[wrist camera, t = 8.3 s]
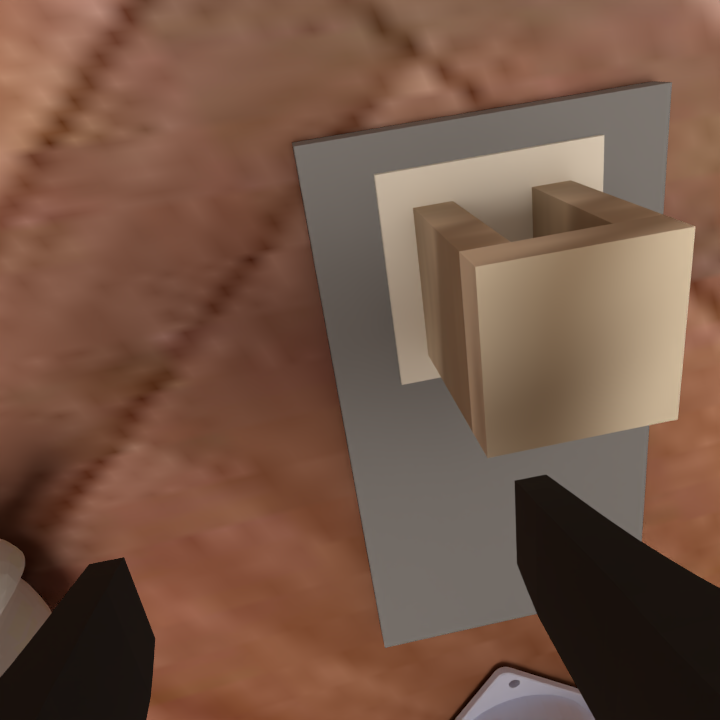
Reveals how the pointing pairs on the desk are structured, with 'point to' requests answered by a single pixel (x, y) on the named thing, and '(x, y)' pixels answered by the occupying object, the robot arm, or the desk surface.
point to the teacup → (17, 606)
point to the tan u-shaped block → (557, 316)
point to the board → (409, 343)
